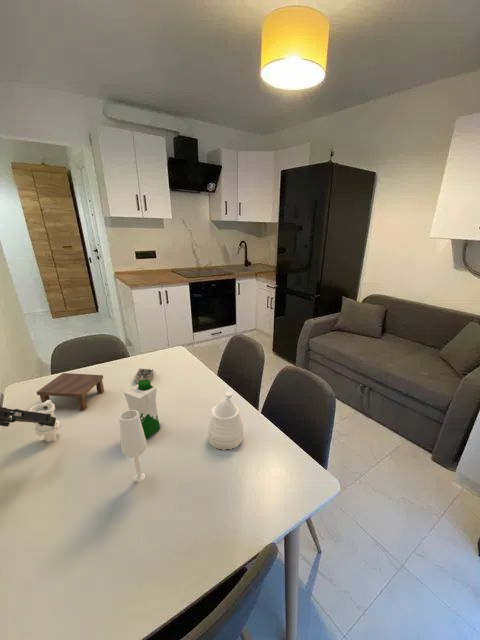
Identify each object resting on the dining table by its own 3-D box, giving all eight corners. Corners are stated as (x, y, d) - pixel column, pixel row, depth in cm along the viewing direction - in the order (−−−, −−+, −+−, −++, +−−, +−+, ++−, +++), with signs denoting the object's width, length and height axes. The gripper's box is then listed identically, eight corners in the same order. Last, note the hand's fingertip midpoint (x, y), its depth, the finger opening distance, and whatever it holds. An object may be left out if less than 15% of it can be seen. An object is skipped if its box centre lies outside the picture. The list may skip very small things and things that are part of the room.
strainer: (68, 436, 104) (58, 401, 98) (52, 450, 97) (40, 413, 91) (51, 433, 105) (40, 398, 99) (34, 446, 98) (21, 410, 92)
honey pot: (222, 422, 115) (221, 383, 108) (249, 434, 109) (251, 393, 102) (200, 441, 104) (198, 399, 97) (229, 455, 99) (229, 411, 92)
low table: (41, 408, 118) (36, 391, 115) (67, 388, 132) (63, 372, 129) (85, 411, 118) (81, 394, 114) (106, 390, 132) (102, 375, 129)
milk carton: (163, 428, 110) (158, 382, 102) (145, 442, 103) (138, 394, 95) (146, 421, 113) (140, 376, 106) (127, 434, 106) (119, 387, 98)
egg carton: (150, 384, 139) (149, 377, 137) (134, 384, 138) (132, 377, 136) (155, 373, 148) (154, 366, 147) (139, 374, 147) (138, 366, 146)
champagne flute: (138, 493, 84) (126, 426, 74) (123, 483, 87) (109, 417, 77) (156, 477, 89) (147, 412, 79) (141, 468, 92) (131, 405, 82)
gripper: (-88, 426, 69) (-15, 434, 89) (22, 426, 71) (69, 434, 90) (-75, 395, 72) (-7, 409, 91) (30, 396, 73) (75, 410, 93)
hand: (31, 422), depth 91 cm, fingers open, 13 cm apart
